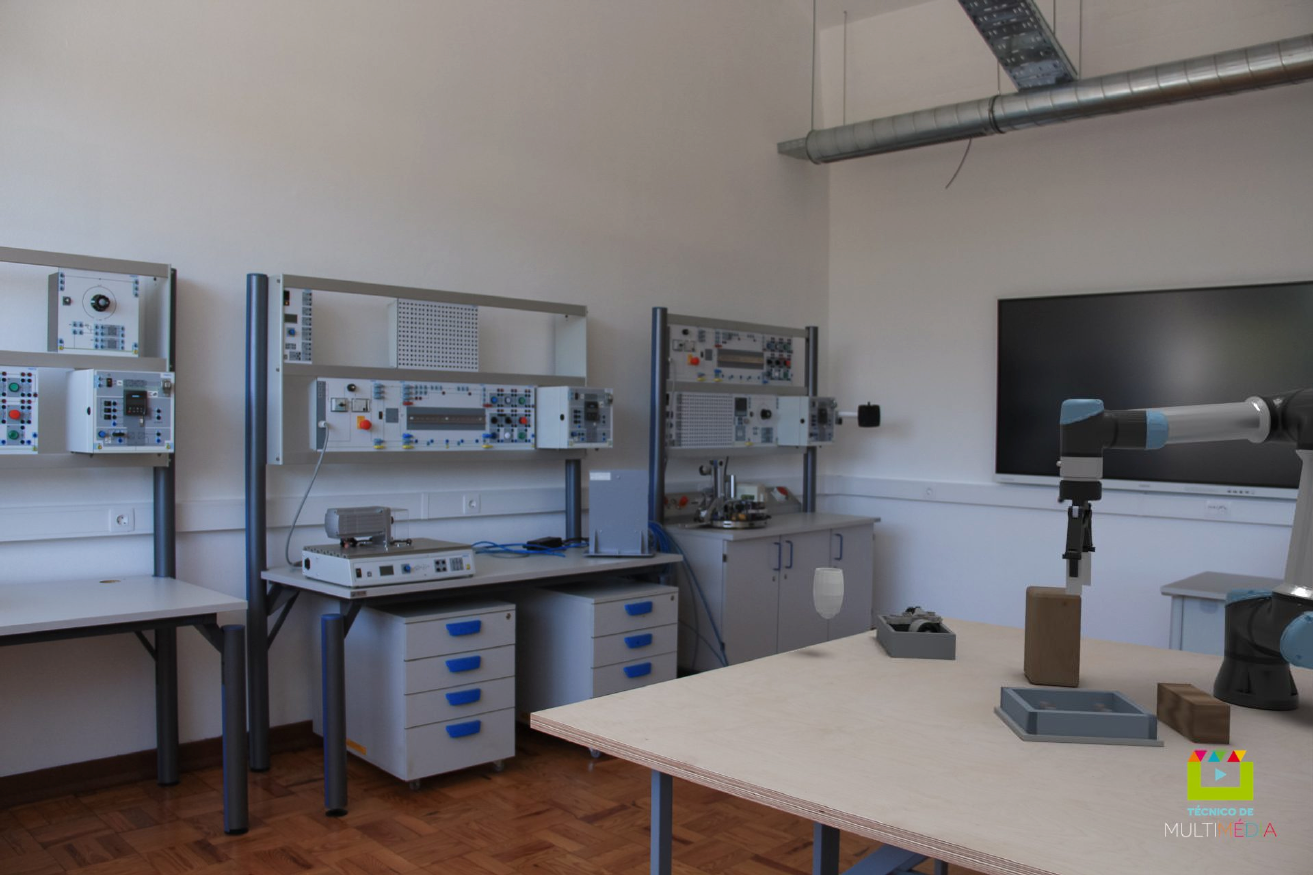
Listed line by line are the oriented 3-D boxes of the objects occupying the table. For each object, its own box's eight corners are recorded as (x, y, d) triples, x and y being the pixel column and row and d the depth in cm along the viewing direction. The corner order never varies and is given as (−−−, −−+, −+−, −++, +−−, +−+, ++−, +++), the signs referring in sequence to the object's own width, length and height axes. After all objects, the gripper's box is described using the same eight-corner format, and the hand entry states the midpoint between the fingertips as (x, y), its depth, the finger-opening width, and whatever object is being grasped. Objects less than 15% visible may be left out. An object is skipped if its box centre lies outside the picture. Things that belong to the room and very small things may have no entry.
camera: (897, 652, 239) (898, 611, 239) (879, 644, 247) (880, 605, 247) (953, 650, 243) (954, 609, 243) (934, 642, 252) (935, 603, 252)
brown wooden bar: (1156, 719, 189) (1157, 682, 189) (1188, 720, 188) (1189, 683, 188) (1194, 743, 174) (1195, 704, 174) (1229, 745, 173) (1230, 705, 173)
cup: (846, 656, 235) (849, 569, 235) (835, 661, 229) (837, 572, 228) (818, 651, 239) (820, 566, 238) (806, 657, 232) (808, 569, 232)
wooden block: (1080, 688, 210) (1082, 594, 210) (1030, 684, 212) (1033, 591, 212) (1070, 676, 220) (1072, 587, 220) (1022, 673, 222) (1025, 584, 222)
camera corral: (934, 640, 256) (935, 617, 256) (955, 659, 234) (956, 634, 234) (876, 637, 257) (876, 614, 257) (891, 657, 235) (891, 632, 235)
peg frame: (1121, 716, 189) (1122, 690, 189) (1164, 746, 171) (1164, 717, 171) (994, 711, 191) (994, 685, 191) (1023, 740, 173) (1023, 711, 173)
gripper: (1068, 476, 202) (1066, 579, 202) (1049, 481, 181) (1047, 596, 181) (1108, 477, 198) (1106, 582, 199) (1094, 482, 177) (1092, 600, 177)
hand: (1078, 589), depth 190 cm, fingers open, 13 cm apart
